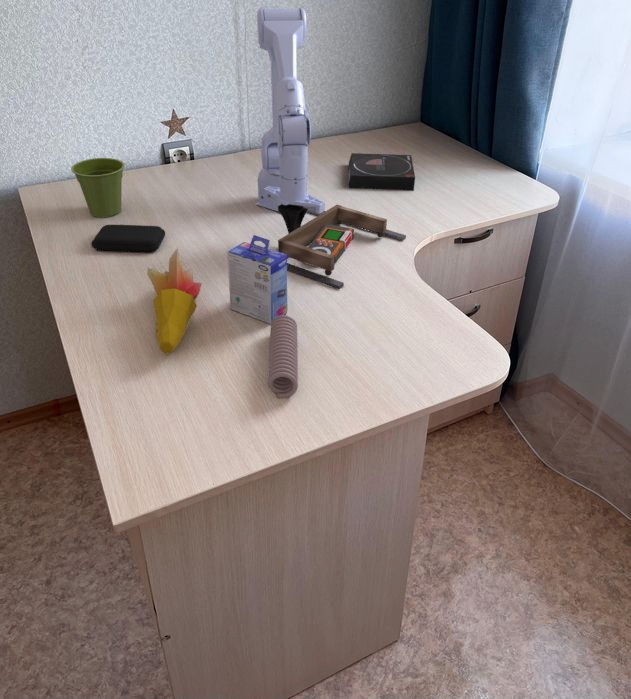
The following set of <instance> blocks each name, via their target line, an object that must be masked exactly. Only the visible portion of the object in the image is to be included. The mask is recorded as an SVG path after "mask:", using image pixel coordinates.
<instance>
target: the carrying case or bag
mask: <svg viewBox="0 0 631 699" xmlns="http://www.w3.org/2000/svg"><path fill="white" fill-rule="evenodd" d="M165 236H166V231H165V229H163V228H162V227H161V226H160V225H159V226H157V225H144V224H143V225H138V224H137V225H136V224H105V225H103V226H102V227H101V228H100V229H99V231H98V232H97V234H96V235H95V237H94V238H93V239H92V241H91V242H90V243H91V244H90V245H91V247H92V248H93V249H94V250H96V251H99V252H106V253H108V252H109V253H110V252H111V253H137V254H138V253H139V254H142V253H143V254H151V253H152V254H153V253H155V252H156V251H157V250H158V249H159V248H160V246H161V244H162V243H163V240H164V239H165Z"/></svg>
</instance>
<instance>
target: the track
mask: <svg viewBox="0 0 631 699" xmlns="http://www.w3.org/2000/svg"><path fill="white" fill-rule="evenodd" d="M325 211H326V210H325ZM325 211H323V212H322V213H324V212H325ZM306 213H309V214H312V215H315V216H319V215H320V214H322V213H320V214H318V213H316V211H314V210H310V209H308V210H307V212H306ZM342 224H345V225H348V226H351V225H352V226H351V227H354V226H355V228H358V227H359V228H358V229H361V228H363V227H360V226H356V225H353V224H350V223H346V222H343V221H342ZM364 229H366V228H363V229H362V230H364ZM368 230H369V231H368ZM365 231H368V232H371V231H372V232H371V233H374V232H376V231H373V230H370V229H366V230H365ZM377 233H378V232H376V233H375V234H377ZM384 235H385V236H384ZM384 235H383V236H384V237H387V236H388V238H392V239H395V240H397V241H400V240H401V241H400V242H403V241H404V240H406V238H407V235H406V234H404V233H400V232H397V231H394V230H390V229H387V228H386V232H385V233H384ZM287 272H288V273H289V272H290V273H292V274H294V275H298V276H300V277H303V278H306V279H309V280H311V281H314V282H316V283H318V284H319V283H320V284H322V285H326V286H328V287H330V288H334V289H336V290H340V289H342V288H343V287H344V282H342V281H340V280H338V279H334V278H331V277H329V276H327V275H323V274H320V273H317V272H314V271H312V270H308V269H307V268H303V267H300V266H297V265H294V264H292V263H289V262H287Z"/></svg>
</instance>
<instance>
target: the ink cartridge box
mask: <svg viewBox="0 0 631 699" xmlns="http://www.w3.org/2000/svg"><path fill="white" fill-rule="evenodd" d="M270 241H271V240H270V239H268V238H264V237H261V236H258V235H255V234H253V235H252V238H251V241H250V242H246V241H243V242H242V243H240V244H238V245H236V246H234V247H233V248H231V249H230V250H228V251H227V267H228V268H227V269H228V286H229V290H228V291H229V308H230V310H232V311H236V312H238V313H240V314H244V315H246V316H248V317H252V318H254V319H256V320H260V321H262V322H265V323H267V324H270V325H271V322H272V320H273V319H274V318H275V317H277V316H280V315H286V314H288V271H287V263H288V259H287V254H284V253H280V252H278V251H276V250H273V249H270V248H269V246H270ZM255 242H261V243H262V244H263V245H265V246H261V245H258V244H256V243H255Z"/></svg>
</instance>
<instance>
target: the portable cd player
mask: <svg viewBox="0 0 631 699" xmlns="http://www.w3.org/2000/svg"><path fill="white" fill-rule="evenodd" d="M347 176H348V177H347V178H348V179H347V186H348V188H349V189H350V190H351V189H352V190H354V189H355V190H378V191H379V190H380V191H382V190H383V191H408V192H409V191H412V192H413V191H415V183H416V182H415V181H416V174H415V168H414V164H413V158H412V155H411V154H391V153H390V154H389V153H361V152H359V153H357V152H352V153H351V155H350V158H349V161H348V175H347Z"/></svg>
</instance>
